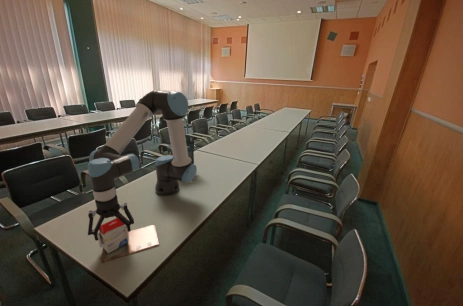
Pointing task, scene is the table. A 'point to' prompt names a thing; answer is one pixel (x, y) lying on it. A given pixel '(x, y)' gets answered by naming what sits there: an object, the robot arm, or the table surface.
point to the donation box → (189, 147)
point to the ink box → (113, 235)
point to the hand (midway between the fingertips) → (115, 241)
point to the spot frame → (116, 255)
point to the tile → (142, 239)
